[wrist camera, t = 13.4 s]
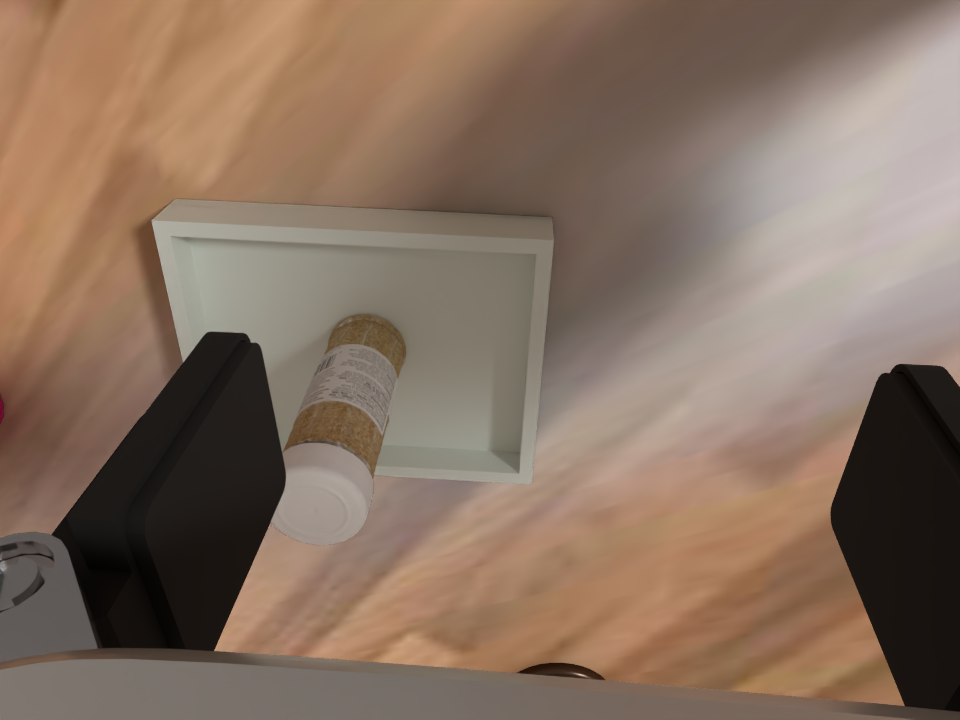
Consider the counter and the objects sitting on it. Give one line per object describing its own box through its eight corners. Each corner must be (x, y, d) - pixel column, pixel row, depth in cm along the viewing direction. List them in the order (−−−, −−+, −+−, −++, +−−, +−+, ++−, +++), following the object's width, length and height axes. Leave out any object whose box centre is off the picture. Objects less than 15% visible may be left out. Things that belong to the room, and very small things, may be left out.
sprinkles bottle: (364, 389, 44) (309, 563, 33) (312, 335, 42) (235, 500, 31) (424, 354, 43) (388, 523, 31) (374, 295, 41) (316, 454, 29)
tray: (552, 217, 39) (554, 240, 36) (531, 452, 47) (531, 484, 45) (175, 198, 39) (151, 220, 37) (222, 435, 48) (206, 465, 45)
